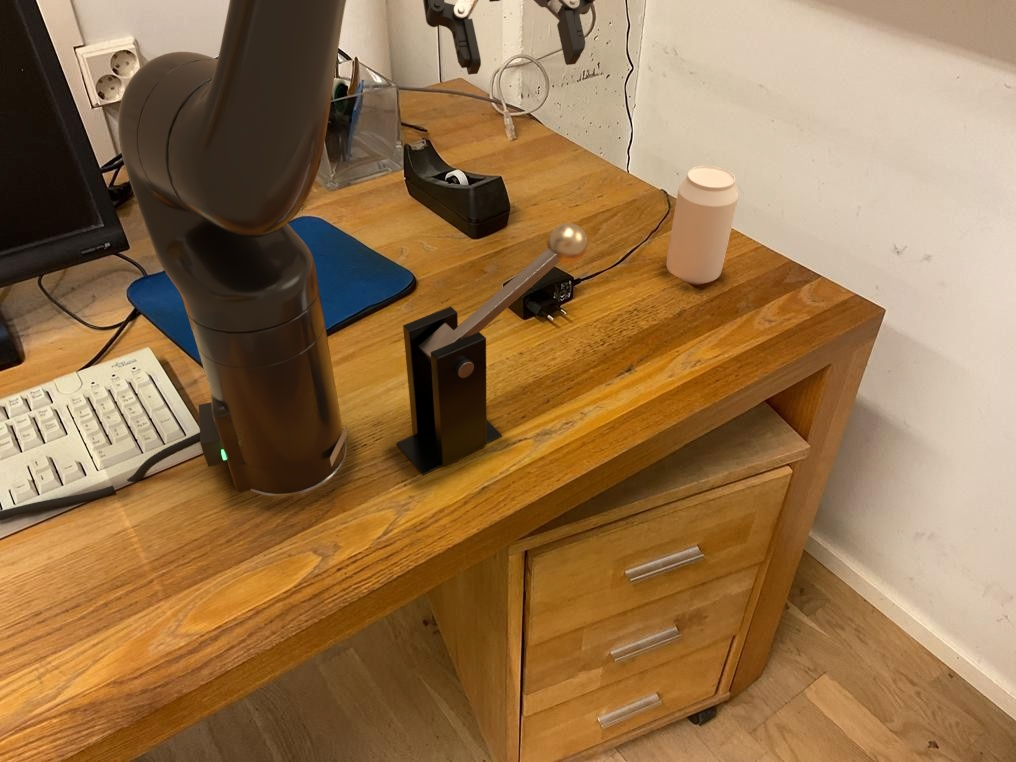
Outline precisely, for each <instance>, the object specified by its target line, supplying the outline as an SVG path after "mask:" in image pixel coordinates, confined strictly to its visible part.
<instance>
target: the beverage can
mask: <svg viewBox="0 0 1016 762" xmlns="http://www.w3.org/2000/svg"><path fill="white" fill-rule="evenodd" d="M739 196H740V195H739V191H738V188H737V185H736V176H735V175H734V173H733V172H732V171H729V170H728V169H726V168H723V167H720V166H716V165H698V166H694V167H692V168H690V169H689V170H688V171H687V175H686V176H685V178H684V179H683V180H682V181H681V183H680V184H679V185H678V189H677V194H676V201H675V207H674V214H673V218H672V224H671V231H670V236H669V237H670V238H669V243H668V247H667V248H668V249H667V255H666V261H665V262H666V263H665V266H666V270H667V271H668V272H669V273H671V275H673V276H675V277H677V278H679V279H680V280H681V281H683V282H684V283H686V284H688V285H703V284H707V283H710V282H713V281H715V280H717V279H718V278H720V276H721V274H722V271H723V267H724V262H725V259H726V254H727V249H728V245H729V241H730V236H731V232H732V227H733V223H734V218H735V213H736V211H737V210H736V209H737V205H738V201H739Z"/></svg>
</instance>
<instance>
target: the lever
mask: <svg viewBox="0 0 1016 762" xmlns="http://www.w3.org/2000/svg"><path fill="white" fill-rule="evenodd" d="M546 245H547V248H546V250H544V251H543V252H542V253H541V254H540V255H538V256H537V257H536V258H535V259H534V260H533V261H531V262H530V263H529V264H528V265H527V266H526V267H525V268H524V269H522V270H521V271H520V272H519V273H518V274H516V275H515V276H514V277H513V278H512V279H511V280H510V281H508V282H507V283H506V284H505V285H504V286H502V288H500V289H499V290H498V291H497V292H495V293H494V295H492V296H491V297H490V298H489V299H488V300H487V301H485V302H484V303H483V304H482V305H481V306H480V307H479V308H477V309H476V310H475V311H474V312H473V313H472V314H470V315H469V316H467V318H466V319H465V320H464V321H463V322H461V323H460V324H458V327H457V328H456V329H454V330H453V329H452V328H451V327H450V326H448V325H447V324H446V323H444V324H443V325H442V326H441V327H440V328H438V329H437V330H436V331H435V332H434V333H433V334H431V335H430V336H429V337H428V338H427V339H426V340H424V341H423V342H422V343H421V344H420V345H419V348H420V349H421V350H422V352H423V353H424V354H425V356H426V357H427V358H428V360H429V361H430V362H431V352H432V351H434V350H437V349H439V348H442V347H444V346H446V345H449V344H451V343H454V342H456V341H458V340H461V339H463V338H465V337H468V336H470V335H473V334H475V333H477V332H480V333H481V331H482V330H483V329H485V328H486V327H487V326H488V325H490V324H491V323H492V322H493V321H494V320H495V319H496V318H497V317H498V316H500V315H501V314H502V313H503V312H505V310H507V308H509V307H510V306H511V305H512V304H514V302H516V301H517V300H518V299H519V298H520V297H521V296H522V295H524V294H525V293H526V292H527V291H529V289H531V288H532V287H533V286H534V285H535V284H536V283H537V282H539V281H540V280H541V279H542V278H543V277H544V276H545V275H547V274H548V273H549V272H550V271H552V269H554V268H555V267H556V266H558V264H559V263H560V264H568V265H569V264H573V263H576V262H578V261H579V260H580V259H582V258H583V257H584V255H585V253H586V252H587V249H588V238H587V234H586V233H585V231H584V230H583V229H582V227H580V226H579V225H577V224H576V223H571V222H564V223H561V224H558V225H556V226H555V227H554V228H553V229H552V230H551V231H550V233H549V235H548V237H547V244H546Z"/></svg>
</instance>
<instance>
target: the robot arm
mask: <svg viewBox="0 0 1016 762" xmlns="http://www.w3.org/2000/svg"><path fill="white" fill-rule="evenodd" d="M488 1H489V2H490V3H493V2H500V1H501V0H488ZM533 1H534V2H535V4H537V5H538V6H539V7H540V8H545V9H547V10H548V11H549V13H551V14H552V15H553V16H554V17H555V18H556V19H557V20H558V22H557V24H556V26H557V30H558V35H559V36H558V37H559V41H560V45H561V50H562V55H563V59H564V63H565V65H566V66H568V65H569V66H570V65H571V66H572V65H576V64H577V62H578V60H579V59H580V58H581V55H582V54H583V52H584V50H585V48H586V38H585V34H584V29H583V25H582V21H581V15H584V16H585V15H587V14H588V13H589V11H590V10H591V8H592V5H593V4H594V3H595V1H596V0H533ZM422 2H423V10H424V14H425V22H426V24H427V25H428V26H429V27H430V28H431V27H432V28H437V27H439V26H441V27H445V28H447V29H448V30H449V31H450V32H451V35H452V40H453V45H454V48H455V54H456V58H457V63H458V64H459V66H460V68H461V69H466V73H467V75H470V76H471V75H478V73H479V71H480V68H481V66H482V59H481V54H480V49H479V44H478V40H477V35H476V31H475V26H474V21H473V18H470V17H471V15H472V14H473V12H474V10H475V8H476V6H477V4H478V2H479V0H456V2H455V4H452V3H450V2H445V0H422ZM346 4H347V0H229V1H228V7H227V13H226V18H225V23H224V28H223V33H222V37H221V38H222V39H221V43H220V49H219V52H218V55H217V58H216V57H215V58H214V57H212V56H209V55H206V54H202V53H198V52H191V51H173V52H168V53H165V54H162V55H159V56H156V57H154V58H152V59H150V60H149V61H147V62H146V63H145V64H142V66H141V67H140V68H138V70H137V71H136V72H135V73H134V74H133V75H132V77H131V78H130V80H129V81H128V83H127V85H126V86H125V89H124V91H123V94H122V97H121V100H120V104H119V109H118V116H117V117H118V119H117V134H118V142H119V148H120V153H121V157H122V161H123V164H124V168H125V171H126V175H127V178H128V180H129V183H130V187H131V189H132V192H133V195H134V197H135V200H136V203H137V207H138V209H139V212H140V215H141V217H142V219H143V223H144V225H145V228H146V230H147V233H148V236H149V238H150V241H151V244H152V247H153V249H154V252H155V254H156V255H155V256H156V257H157V259H158V261H159V263H160V265H161V267H162V268H163V271H164V272H165V274H166V275H167V276H168V278H169V279H170V281H171V282H172V283H173V285H174V286H175V288H176V289H177V291H178V293H179V294H180V295H179V296H180V297H181V300H182V302H183V306H184V308H185V311H186V315H187V318H188V321H189V325H190V328H191V331H192V334H193V338H194V341H195V345H196V348H197V351H198V354H199V355H198V356H199V358H200V361H201V364H202V367H203V371H204V375H205V377H206V378H205V379H206V381H207V384H208V387H209V390H210V402H205V403H200V404H198V423H199V432H197V433H195V434H193V435H191V436H188V437H187V438H184V439H182V440H180V441H177V442H175V443H173V444H171V445H168V446H167V447H165V448H163V449H161V450H159V451H158V452H156V453H154V454H153V455H151V456H149V458H148V459H146V460H145V461H144V462H142V464H141V465H140V466H139V467H138V469H137V470H136V471H135V472H134V473H133V474H132V475H131V476H130V477H128V478H127V479H126V482H129V483H135V482H140V481H141V480H142V479H143V478H144V477H145V475H146V474H147V473H148V472H149V471H150V470H151V468H153V467H154V466H156V465H157V464H158V463H160V462H161V461H164V460H165V459H167V458H169V457H171V456H172V455H174V454H177V453H179V452H181V451H183V450H185V449H187V448H190V447H192V446H194V445H197V444H200V447H201V451H202V453H203V456H204V459H205V462H206V465H207V467H208V468H210V467H214V466H219V465H224V464H227V466H228V469H229V472H230V476H231V479H232V482H233V486H234V489H235V492H237V493H242V492H247V491H251V492H254V493H256V494H259V495H262V496H267V497H291V496H296V495H301V494H304V493H308V492H309V491H312V490H315V489H316V488H319V487H321V486H323V484H325V483H327V482H328V481H329V480H331V479H332V478H333V477H334V476H335V475H336V474H337V473H338V471H339V470H340V469H341V467H342V466H343V464H344V462H345V460H346V457H347V453H348V452H347V451H348V446H347V440H346V439H347V436H348V434H349V433H348V428H347V425H345V426H344V428H343V423H342V416H341V410H340V405H339V398H338V393H337V387H336V382H335V381H336V380H335V375H334V369H333V363H332V358H331V352H330V351H331V350H330V345H329V339H328V334H327V327H326V322H325V317H324V316H325V315H324V310H323V303H322V298H321V297H322V296H321V291H320V286H319V280H318V279H319V278H318V274H317V269H316V264H315V259H314V256H313V254H312V252H311V250H310V248H309V247H308V245H307V243H306V242H305V241H304V240H303V239H302V238H301V236H300V235H299V234H298V233H297V232H296V231H295V230H294V229H293V227H292V226H291V225H290V224H289V223H290V222H291V221H292V220H293V219H294V218H295V216H296V215H298V213H299V212H300V210H301V209H302V207H303V206H304V204H305V203H306V201H307V200H308V198H309V196H310V194H311V191H312V189H313V187H314V185H315V182H316V179H317V177H318V173H319V170H320V165H321V162H322V158H323V153H324V149H325V142H326V137H327V131H328V123H329V117H330V110H331V105H332V104H331V103H332V96H333V90H334V83H335V75H336V67H337V61H338V55H339V54H338V53H339V46H340V40H341V33H342V28H343V27H342V26H343V20H344V15H345V8H346ZM116 494H117V492H116V489H115V487H114V486H113V485H110V486H107V487H103V488H101V489H97V490H93V491H89V492H84V493H78V494H73V495H68V496H62V497H57V498H56V497H55V498H51V499H46V500H42V501H41V500H40V501H35V502H32V503H26V504H23V505H19V506H15V507H11V508H7V509H2V510H0V521H4V520H7V519H10V518H14V517H20V516H22V515H27V514H31V513H36V512H40V511H45V510H49V509H55V508H61V507H66V506H72V505H76V504H81V503H86V502H90V501H94V500H98V499H103V498H106V497H109V496H112V495H116Z"/></svg>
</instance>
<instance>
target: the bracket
mask: <svg viewBox="0 0 1016 762" xmlns="http://www.w3.org/2000/svg"><path fill="white" fill-rule="evenodd" d="M458 319H459V317H458V311H457V310H455V308H454V307H452V306H448V307H445V308H443V309H440V310H438V311H435V312H432V313H429V314H428V315H425V316H423V317H420V318H418V319H415V320H412V321H410V322H407V323H405V324H403V325H402V329H403V340H404V352H405V363H406V375H407V386H408V397H409V408H410V419H411V421H410V422H411V430H412V431H411V432H412V433H413V435H411V436H408V437H406V438H404V439H402V440H399V441H398V442H395V445H396V447H397V448H398V450H400V452H402V454H403V455H404V456H405V457H406V458H407V460H408V461H409V462H410V463H411V464H412V466H413V467H414V468H415V469H416V470H417V471H418V472H419V473H420V475H421V476H422V477H424V476H427V475H428V474H431V473H432V472H434V471H436V470H438V469H440V468H442V467H446V466H448V465H449V464H452V463H454V462H456V461H458V460H460V459H463V458H464V457H466V456H469V455H470V454H472V453H474V452H476V451H478V450H480V449H482V448H484V447H486V446H487V445H488V444H490V443H492V442H495V441H497V440H499V439H501V438H502V437H503V434H502V433H501V432H500V431H499V430H498V429H497V428H496V427H495V426H494V425H493V424H492V423H491V422H490V421H489V420H488V419H487V338H486V337H485V336H484V335H483V334H482V333H481V331H480V332H477V333H475V334H473V335H470V336H468V337H465V338H463V339H461V340H458V341H456V342H454V343H451V344H449V345H446V346H444V347H442V348H439V349H437V350H434V351H432V352H431V362H430V361H429V360H428V358H427V357H426V356H425V354H424V353H423V352H422V350H421V349H420V348H419V345H420V344H421V343H422V342H423V341H424V340H426V339H427V338H428V337H429V336H430V335H431V334H433V333H434V332H435V331H436V330H437V329H438V328H440V327H441V326H442V325H443V324H444V323H446V324H447V325H448V326H450V327H451V328H452V329H453V330H454V329H456V328H457V327H458V326H459V321H458Z"/></svg>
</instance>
